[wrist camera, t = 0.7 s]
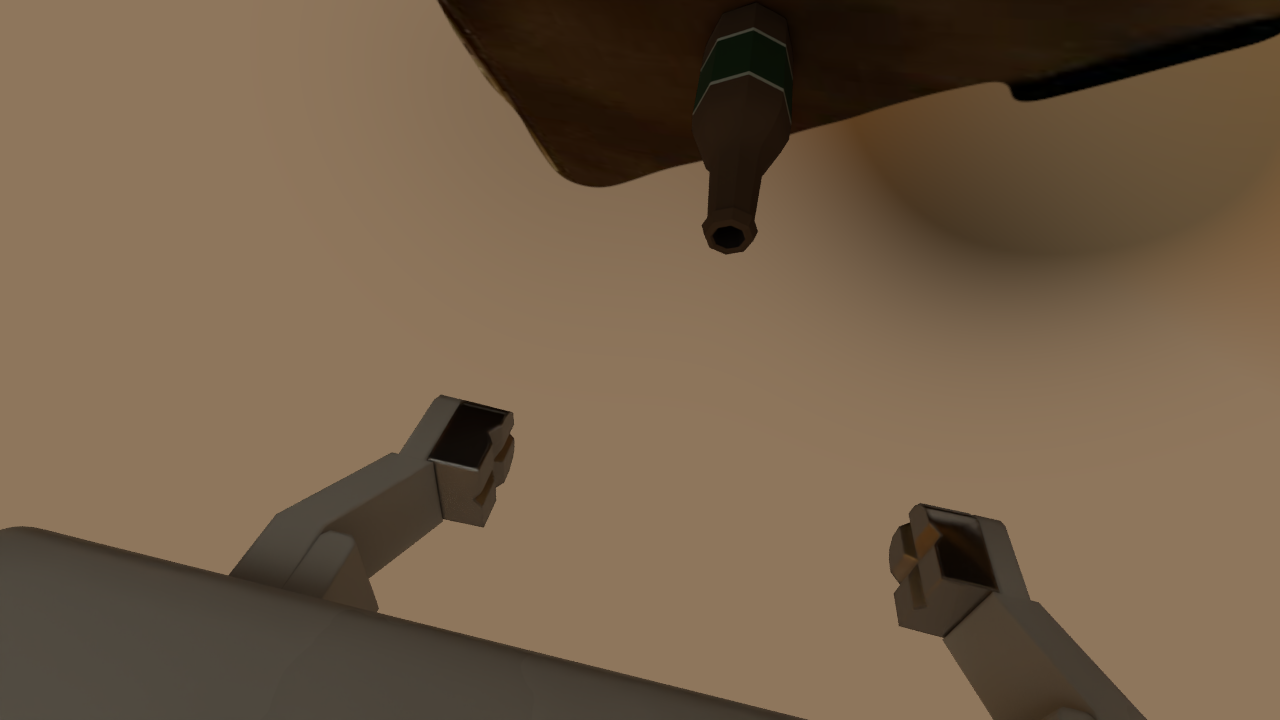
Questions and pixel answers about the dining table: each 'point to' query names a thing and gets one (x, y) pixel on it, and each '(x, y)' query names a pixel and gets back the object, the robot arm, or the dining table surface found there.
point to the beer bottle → (742, 117)
